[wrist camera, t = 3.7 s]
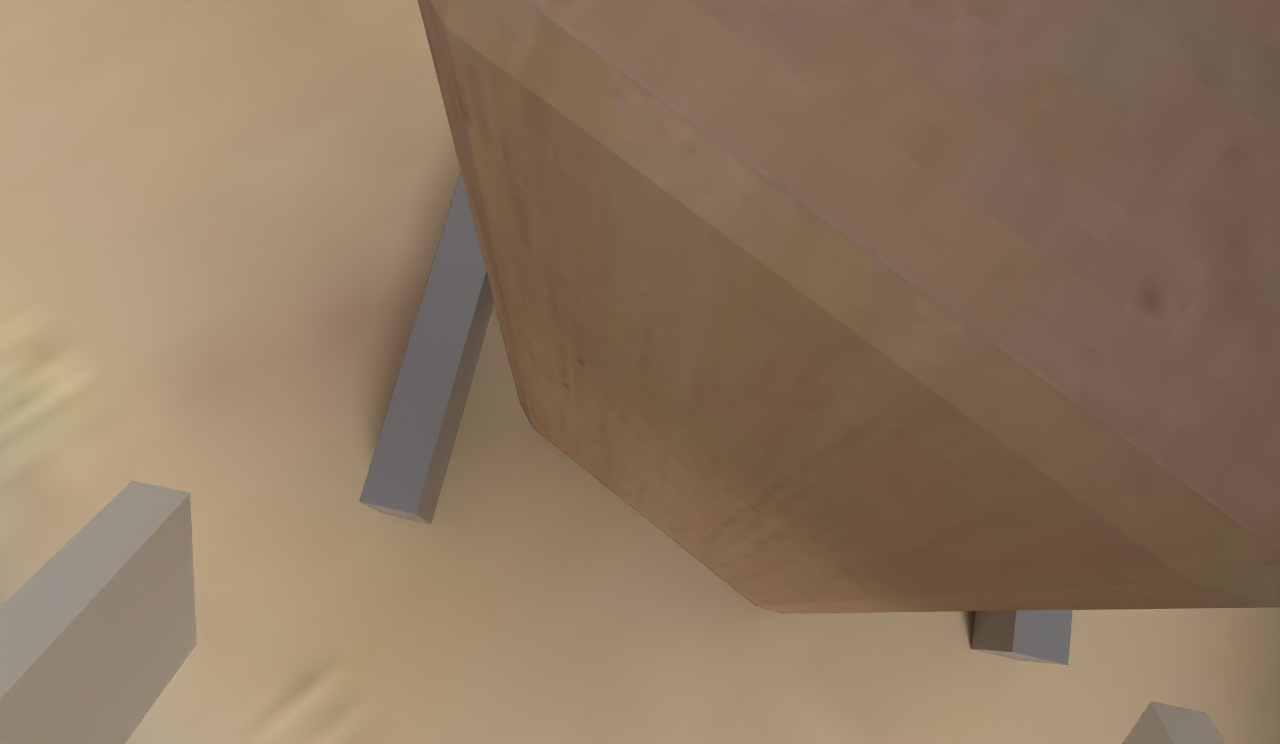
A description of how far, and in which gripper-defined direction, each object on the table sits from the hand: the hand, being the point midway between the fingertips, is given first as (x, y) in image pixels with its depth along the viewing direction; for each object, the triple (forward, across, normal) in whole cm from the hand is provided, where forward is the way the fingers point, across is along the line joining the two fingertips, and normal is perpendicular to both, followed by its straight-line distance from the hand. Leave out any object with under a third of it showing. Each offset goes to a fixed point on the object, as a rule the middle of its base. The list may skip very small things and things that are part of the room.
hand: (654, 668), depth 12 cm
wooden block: (+15, +2, -3) cm, 16 cm away
